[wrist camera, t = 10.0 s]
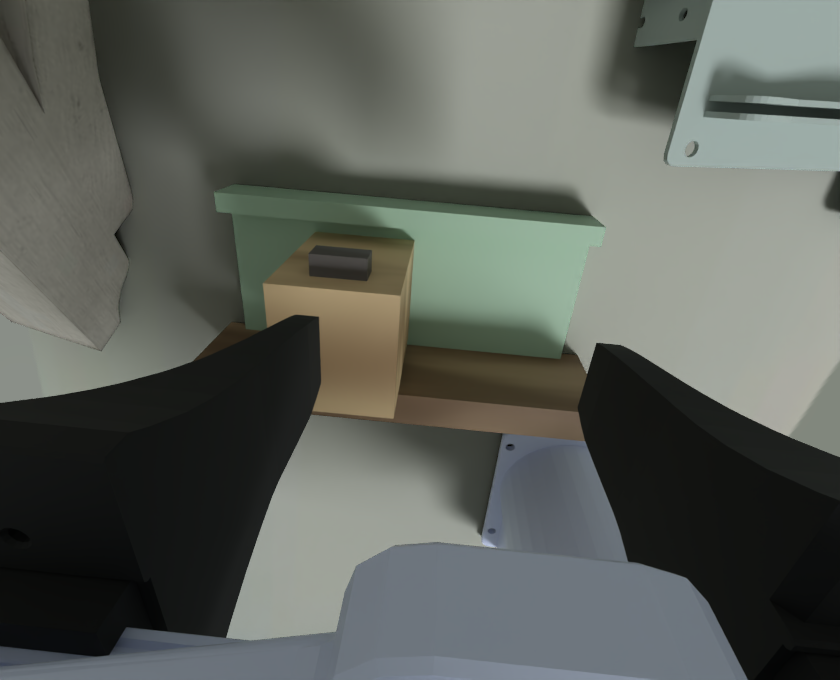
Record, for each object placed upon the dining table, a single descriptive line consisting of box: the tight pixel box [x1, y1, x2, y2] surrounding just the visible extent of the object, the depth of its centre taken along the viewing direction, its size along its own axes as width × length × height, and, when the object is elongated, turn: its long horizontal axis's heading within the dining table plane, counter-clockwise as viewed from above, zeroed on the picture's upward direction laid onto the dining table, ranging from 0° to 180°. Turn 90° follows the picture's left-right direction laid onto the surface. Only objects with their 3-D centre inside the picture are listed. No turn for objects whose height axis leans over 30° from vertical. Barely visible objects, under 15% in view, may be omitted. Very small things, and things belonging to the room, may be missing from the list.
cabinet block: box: [263, 232, 415, 419], centre depth 19 cm, size 6×4×6 cm
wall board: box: [194, 322, 587, 441], centre depth 22 cm, size 2×18×5 cm, turn 85°
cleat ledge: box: [214, 184, 606, 359], centre depth 21 cm, size 7×16×2 cm, turn 86°
